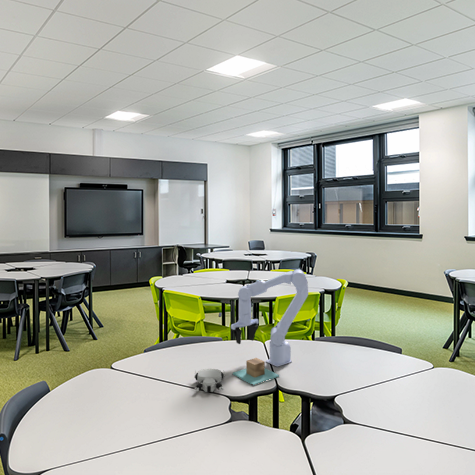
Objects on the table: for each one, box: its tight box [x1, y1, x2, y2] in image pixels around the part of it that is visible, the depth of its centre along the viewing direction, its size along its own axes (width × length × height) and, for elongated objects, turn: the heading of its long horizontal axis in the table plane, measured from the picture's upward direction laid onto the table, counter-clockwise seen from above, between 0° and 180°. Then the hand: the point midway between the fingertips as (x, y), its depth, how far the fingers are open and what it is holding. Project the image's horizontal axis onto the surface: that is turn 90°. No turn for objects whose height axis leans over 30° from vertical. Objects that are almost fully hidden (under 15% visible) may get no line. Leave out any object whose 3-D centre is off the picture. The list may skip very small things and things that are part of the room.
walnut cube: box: [245, 357, 266, 377], centre depth 177 cm, size 6×6×6 cm
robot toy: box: [194, 368, 226, 393], centre depth 167 cm, size 12×4×15 cm
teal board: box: [232, 367, 280, 386], centre depth 177 cm, size 14×14×1 cm
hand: (245, 341), depth 191 cm, fingers open, 7 cm apart
